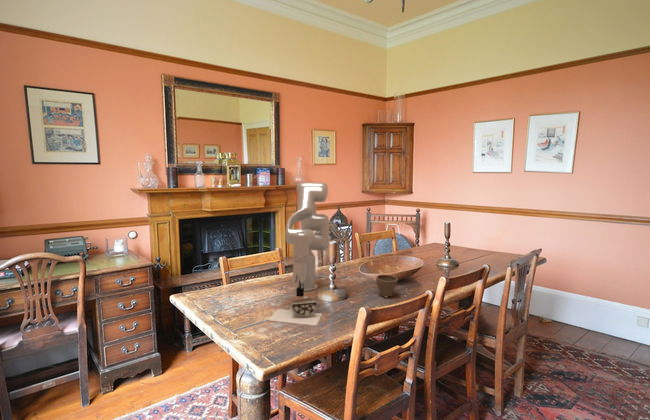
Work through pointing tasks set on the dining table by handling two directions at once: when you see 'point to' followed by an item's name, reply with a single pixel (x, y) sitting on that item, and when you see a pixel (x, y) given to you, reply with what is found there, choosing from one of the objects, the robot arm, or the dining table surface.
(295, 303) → the food container
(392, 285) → the flower pot
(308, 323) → the mat
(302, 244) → the robot arm
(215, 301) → the dining table surface
